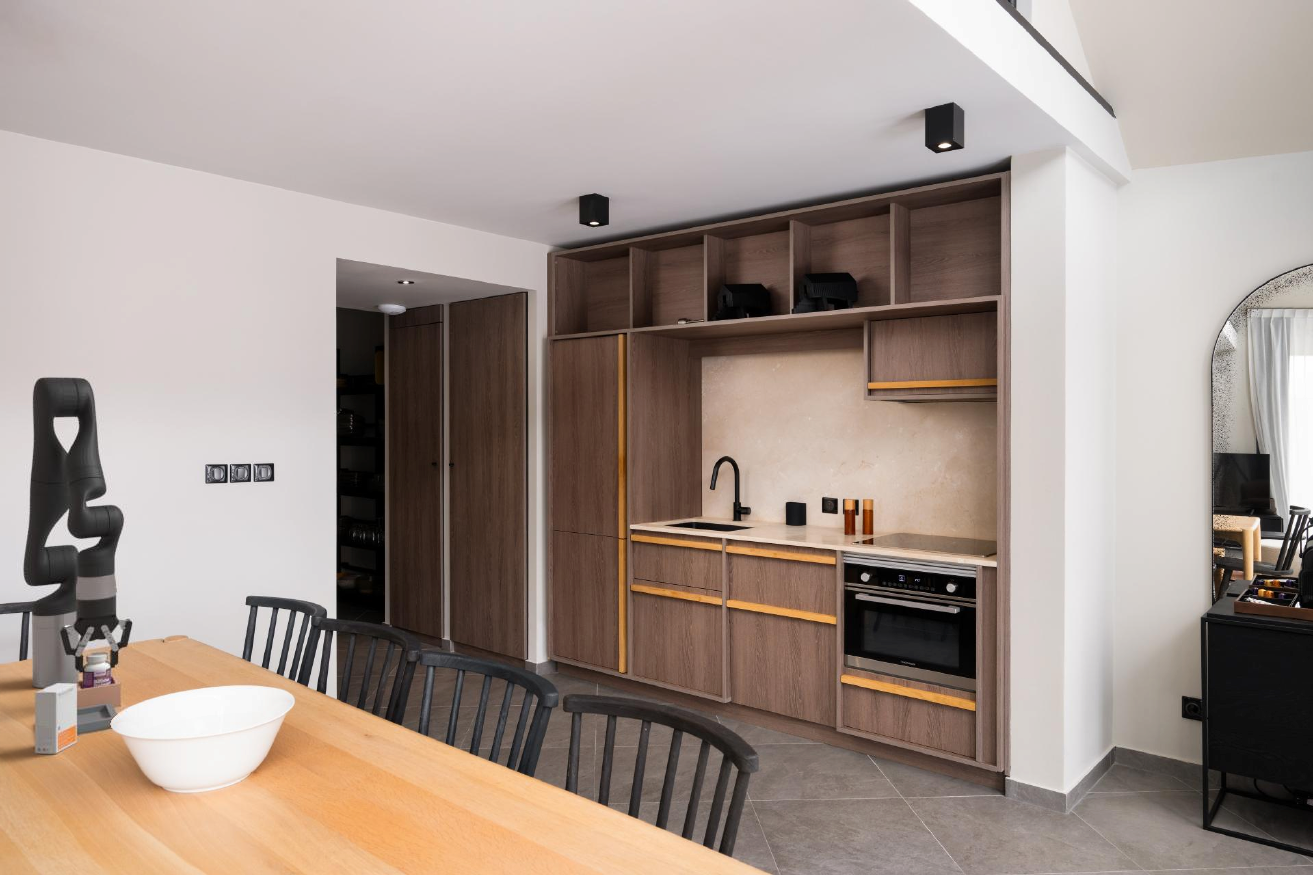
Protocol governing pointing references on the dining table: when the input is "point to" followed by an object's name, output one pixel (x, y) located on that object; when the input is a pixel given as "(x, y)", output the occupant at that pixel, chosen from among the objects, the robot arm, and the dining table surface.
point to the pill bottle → (96, 670)
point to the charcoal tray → (95, 718)
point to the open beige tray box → (99, 694)
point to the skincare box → (55, 718)
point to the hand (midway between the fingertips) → (96, 669)
